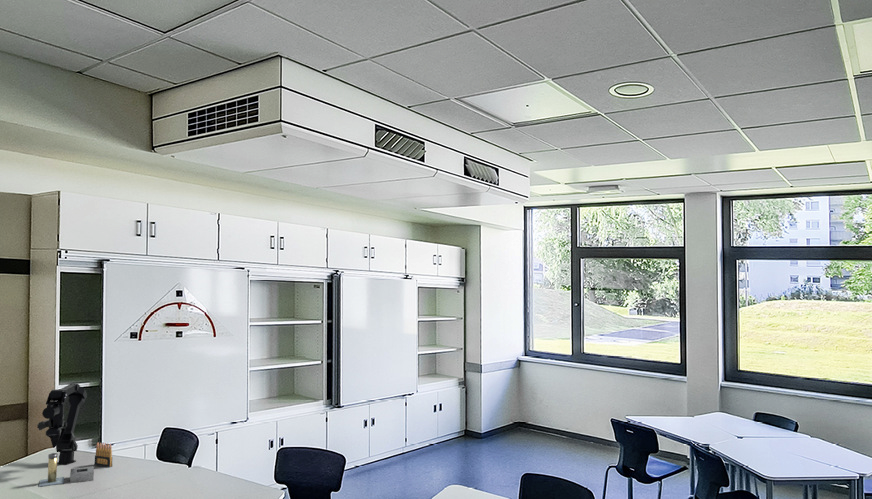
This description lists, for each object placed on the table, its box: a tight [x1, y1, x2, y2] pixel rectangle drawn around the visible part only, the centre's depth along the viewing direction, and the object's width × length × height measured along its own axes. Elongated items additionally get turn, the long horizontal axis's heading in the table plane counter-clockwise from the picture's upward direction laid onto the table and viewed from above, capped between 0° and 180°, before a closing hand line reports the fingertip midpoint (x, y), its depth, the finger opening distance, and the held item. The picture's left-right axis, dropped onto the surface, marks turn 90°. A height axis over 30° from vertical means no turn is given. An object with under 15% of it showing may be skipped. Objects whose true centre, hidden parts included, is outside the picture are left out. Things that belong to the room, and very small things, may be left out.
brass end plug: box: [47, 452, 59, 483], centre depth 305 cm, size 4×4×13 cm
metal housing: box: [69, 465, 95, 484], centre depth 311 cm, size 10×10×4 cm
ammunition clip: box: [93, 441, 113, 468], centre depth 332 cm, size 11×2×12 cm, turn 70°
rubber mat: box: [38, 476, 65, 488], centre depth 305 cm, size 10×10×1 cm
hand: (56, 444), depth 323 cm, fingers open, 9 cm apart
